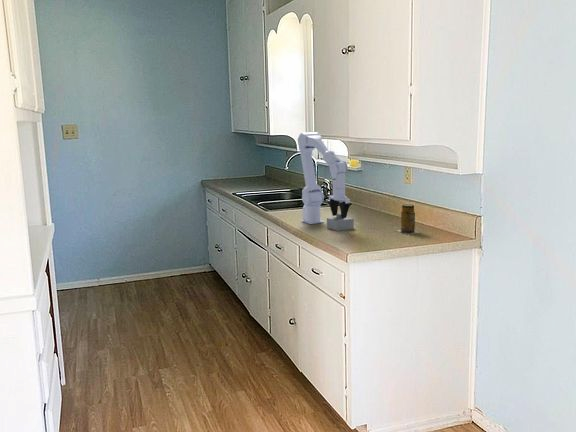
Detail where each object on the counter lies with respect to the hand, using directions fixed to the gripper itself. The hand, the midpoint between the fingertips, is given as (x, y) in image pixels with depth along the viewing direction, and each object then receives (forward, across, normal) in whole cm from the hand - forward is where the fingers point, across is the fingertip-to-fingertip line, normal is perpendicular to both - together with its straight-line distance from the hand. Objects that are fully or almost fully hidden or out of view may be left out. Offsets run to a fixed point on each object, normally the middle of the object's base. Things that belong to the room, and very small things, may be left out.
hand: (339, 216), depth 264 cm
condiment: (+6, -25, -20) cm, 33 cm away
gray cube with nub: (+6, 0, 0) cm, 6 cm away
